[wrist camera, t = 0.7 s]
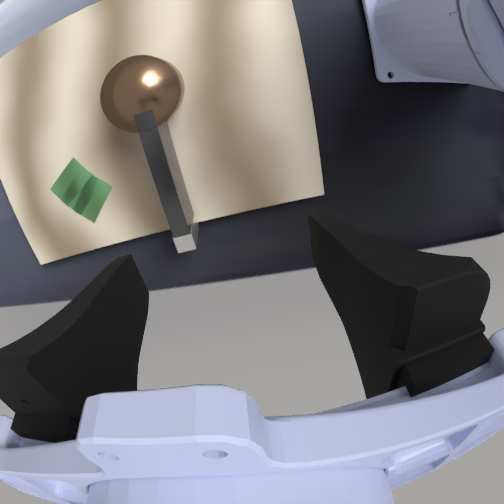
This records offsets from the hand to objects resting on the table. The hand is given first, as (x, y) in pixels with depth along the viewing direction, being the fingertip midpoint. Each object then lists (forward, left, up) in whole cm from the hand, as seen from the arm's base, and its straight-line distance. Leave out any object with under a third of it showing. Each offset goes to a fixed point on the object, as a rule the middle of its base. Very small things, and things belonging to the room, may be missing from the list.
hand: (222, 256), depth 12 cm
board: (+5, -6, -9) cm, 12 cm away
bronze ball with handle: (+3, -3, -8) cm, 9 cm away
